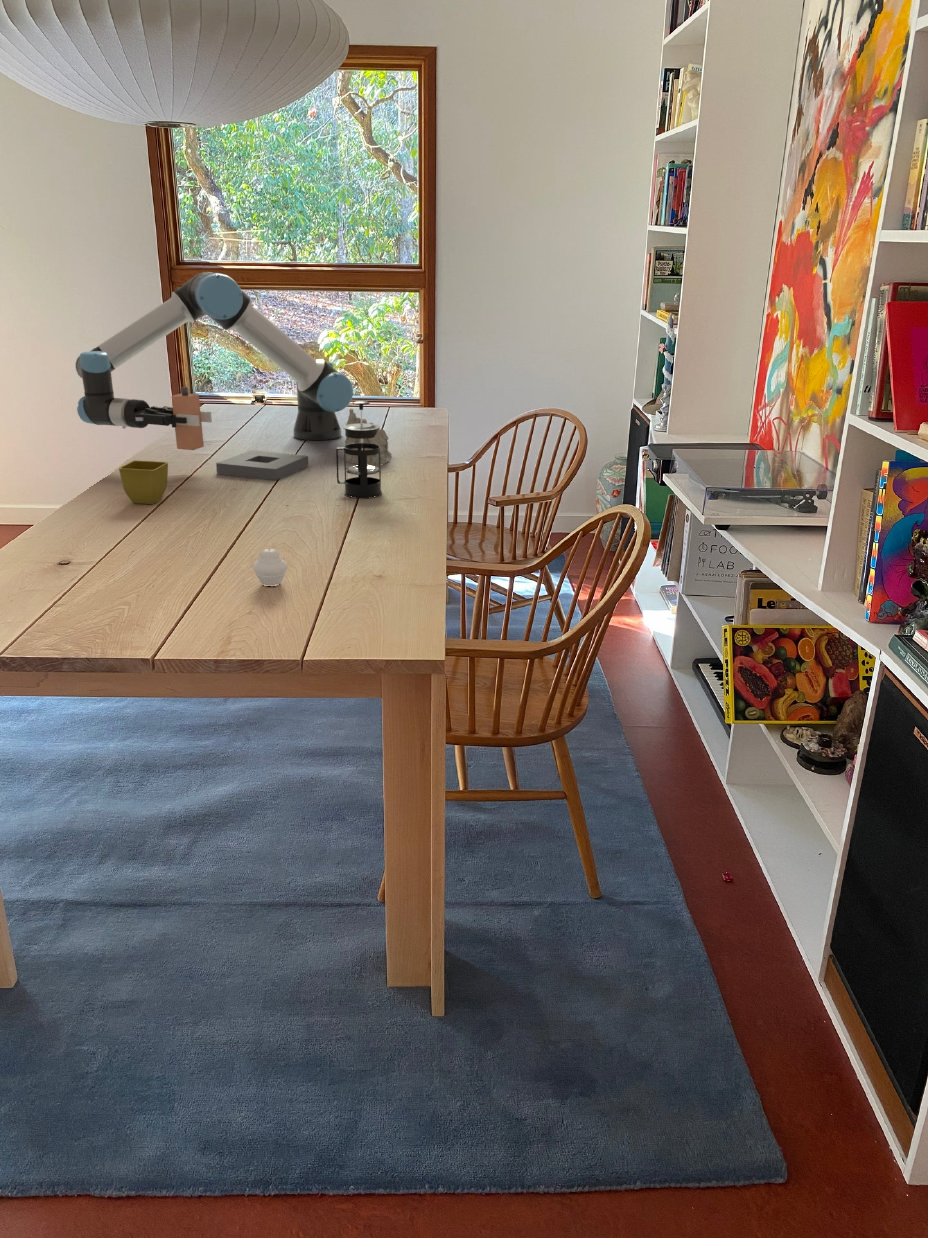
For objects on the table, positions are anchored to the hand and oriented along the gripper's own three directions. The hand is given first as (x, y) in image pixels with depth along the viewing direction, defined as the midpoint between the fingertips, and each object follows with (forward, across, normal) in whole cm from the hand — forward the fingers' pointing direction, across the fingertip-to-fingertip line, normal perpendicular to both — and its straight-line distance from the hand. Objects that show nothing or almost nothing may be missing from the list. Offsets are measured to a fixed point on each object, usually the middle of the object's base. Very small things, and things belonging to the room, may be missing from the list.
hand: (204, 418), depth 249 cm
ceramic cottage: (+33, -33, -15) cm, 49 cm away
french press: (+47, +4, -15) cm, 50 cm away
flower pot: (+3, +31, -14) cm, 35 cm away
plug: (-5, 0, -8) cm, 10 cm away
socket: (+12, -8, -15) cm, 20 cm away
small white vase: (+60, +71, -15) cm, 94 cm away
